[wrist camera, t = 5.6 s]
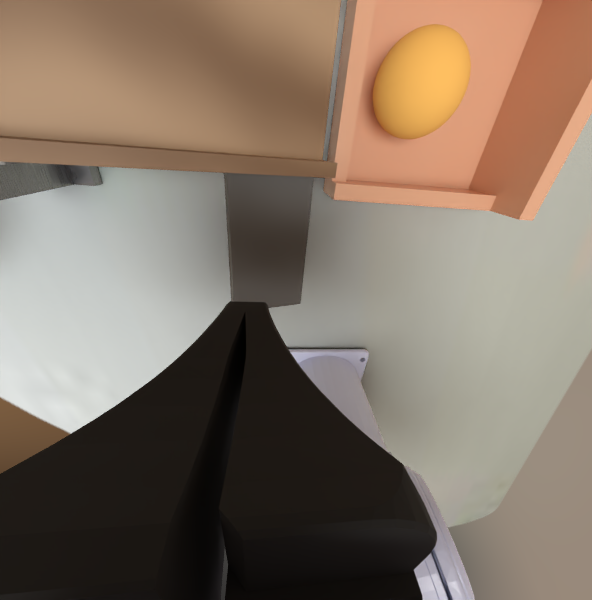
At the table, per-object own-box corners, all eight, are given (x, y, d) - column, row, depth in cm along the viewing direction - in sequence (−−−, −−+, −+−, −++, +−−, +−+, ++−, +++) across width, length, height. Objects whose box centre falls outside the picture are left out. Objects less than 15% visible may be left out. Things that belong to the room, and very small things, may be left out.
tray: (468, 201, 17) (532, 220, 13) (323, 190, 16) (342, 207, 12) (557, -20, 12) (711, -106, 8) (354, -59, 11) (408, -186, 7)
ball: (365, 133, 11) (363, 137, 15) (461, 141, 11) (436, 143, 14) (389, 2, 9) (381, 42, 13) (509, 4, 9) (467, 45, 12)
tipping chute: (299, 292, 17) (322, 321, 14) (-5, 329, 12) (-59, 386, 9) (336, -64, 9) (398, -143, 7) (-493, -415, 4) (-1740, -1433, 1)
